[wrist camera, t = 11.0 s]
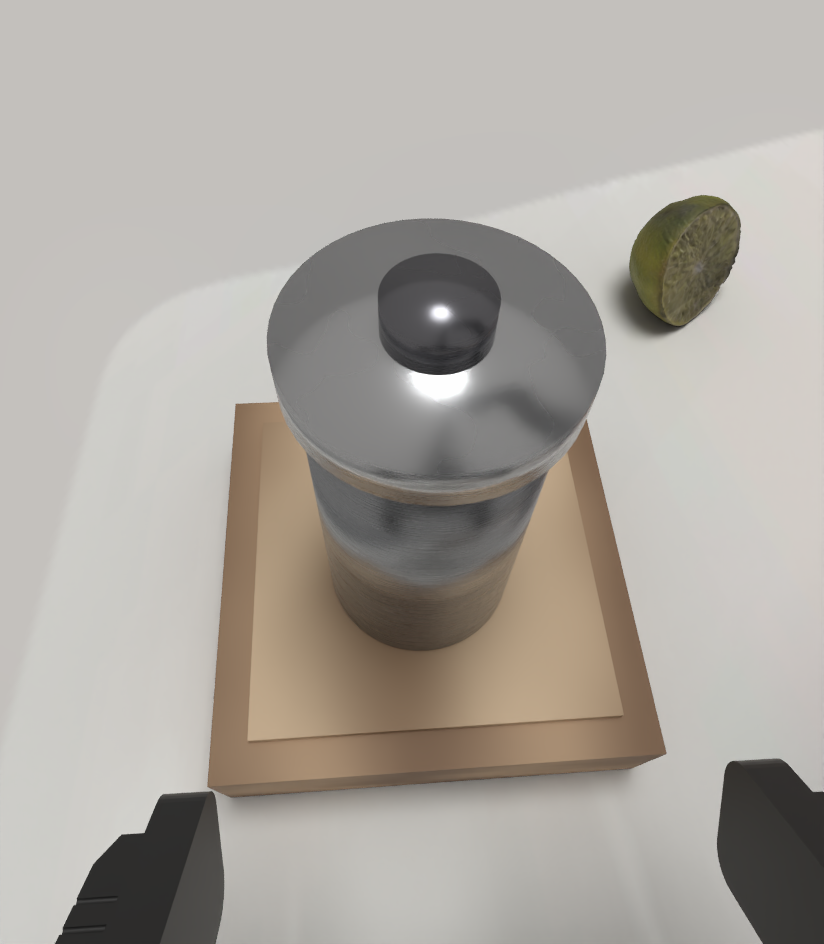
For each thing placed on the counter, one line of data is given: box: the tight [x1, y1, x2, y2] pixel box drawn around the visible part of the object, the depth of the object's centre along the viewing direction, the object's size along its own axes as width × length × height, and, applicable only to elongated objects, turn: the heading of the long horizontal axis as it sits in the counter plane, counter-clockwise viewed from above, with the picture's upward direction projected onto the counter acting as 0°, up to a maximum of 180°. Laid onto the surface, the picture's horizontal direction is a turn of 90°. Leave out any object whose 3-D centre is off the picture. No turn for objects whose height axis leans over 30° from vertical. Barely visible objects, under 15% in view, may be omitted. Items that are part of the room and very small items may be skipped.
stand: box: [207, 402, 666, 797], centre depth 22 cm, size 12×12×3 cm
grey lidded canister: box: [267, 219, 606, 651], centre depth 16 cm, size 6×6×11 cm
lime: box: [629, 195, 741, 326], centre depth 28 cm, size 4×5×5 cm
